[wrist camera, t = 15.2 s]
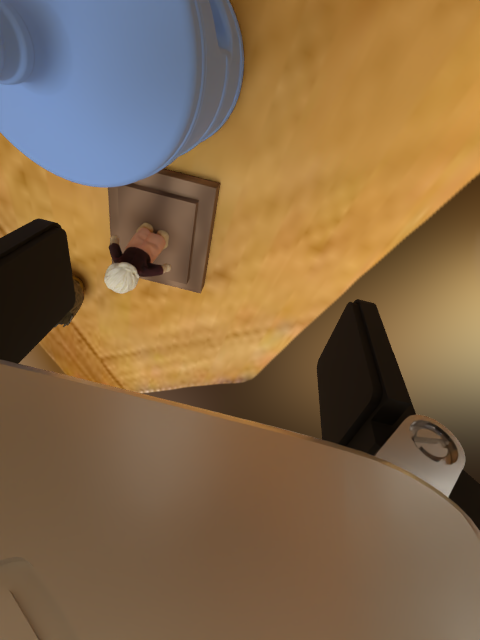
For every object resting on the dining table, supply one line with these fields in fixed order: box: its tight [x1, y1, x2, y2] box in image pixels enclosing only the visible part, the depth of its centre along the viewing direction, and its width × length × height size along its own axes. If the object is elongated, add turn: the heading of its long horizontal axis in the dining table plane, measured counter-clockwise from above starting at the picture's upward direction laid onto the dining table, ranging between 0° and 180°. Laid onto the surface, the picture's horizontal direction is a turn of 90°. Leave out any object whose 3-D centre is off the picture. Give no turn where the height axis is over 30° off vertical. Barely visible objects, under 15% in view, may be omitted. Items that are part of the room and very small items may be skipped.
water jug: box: [0, 0, 244, 187], centre depth 23 cm, size 16×16×28 cm
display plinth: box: [108, 169, 220, 293], centre depth 44 cm, size 14×16×4 cm
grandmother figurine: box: [104, 223, 171, 293], centre depth 38 cm, size 8×4×13 cm, turn 74°
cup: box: [54, 275, 84, 327], centre depth 51 cm, size 8×7×8 cm
